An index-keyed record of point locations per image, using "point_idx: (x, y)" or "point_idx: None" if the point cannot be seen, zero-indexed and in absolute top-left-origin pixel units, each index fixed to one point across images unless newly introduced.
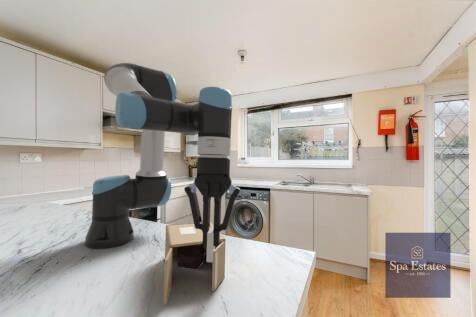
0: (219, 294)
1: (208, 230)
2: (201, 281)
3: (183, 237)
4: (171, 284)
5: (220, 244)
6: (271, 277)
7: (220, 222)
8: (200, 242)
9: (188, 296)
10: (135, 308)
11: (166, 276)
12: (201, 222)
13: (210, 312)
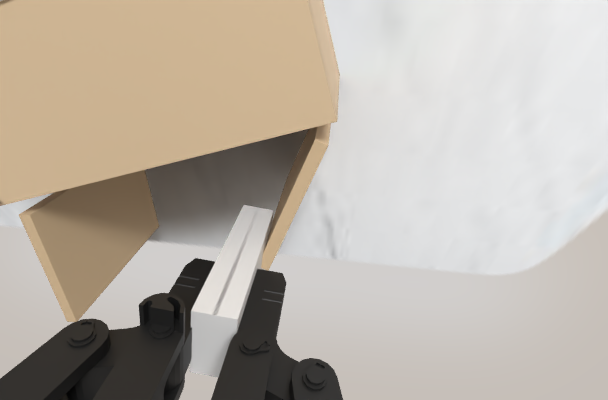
0: (314, 185)
1: (189, 355)
2: None
3: (6, 77)
4: None
5: (299, 184)
6: (566, 86)
7: (266, 385)
8: (161, 163)
9: (212, 185)
10: None
11: (113, 276)
12: (97, 375)
13: (288, 254)
